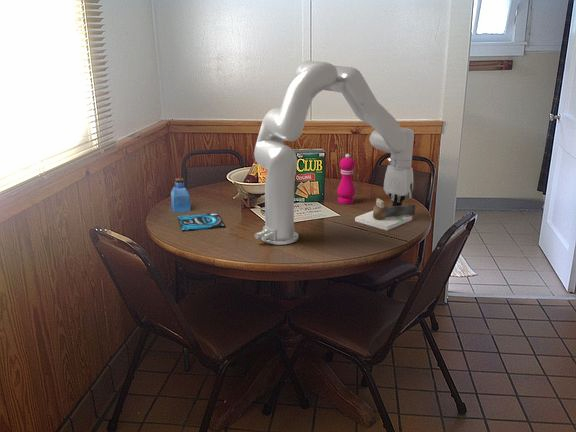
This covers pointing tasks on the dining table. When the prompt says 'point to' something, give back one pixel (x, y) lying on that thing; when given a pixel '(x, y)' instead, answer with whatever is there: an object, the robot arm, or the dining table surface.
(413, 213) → the brown grey handled piece
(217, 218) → the guitar string package
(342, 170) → the pepper mill
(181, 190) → the perfume bottle
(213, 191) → the dining table surface
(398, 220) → the dial board
